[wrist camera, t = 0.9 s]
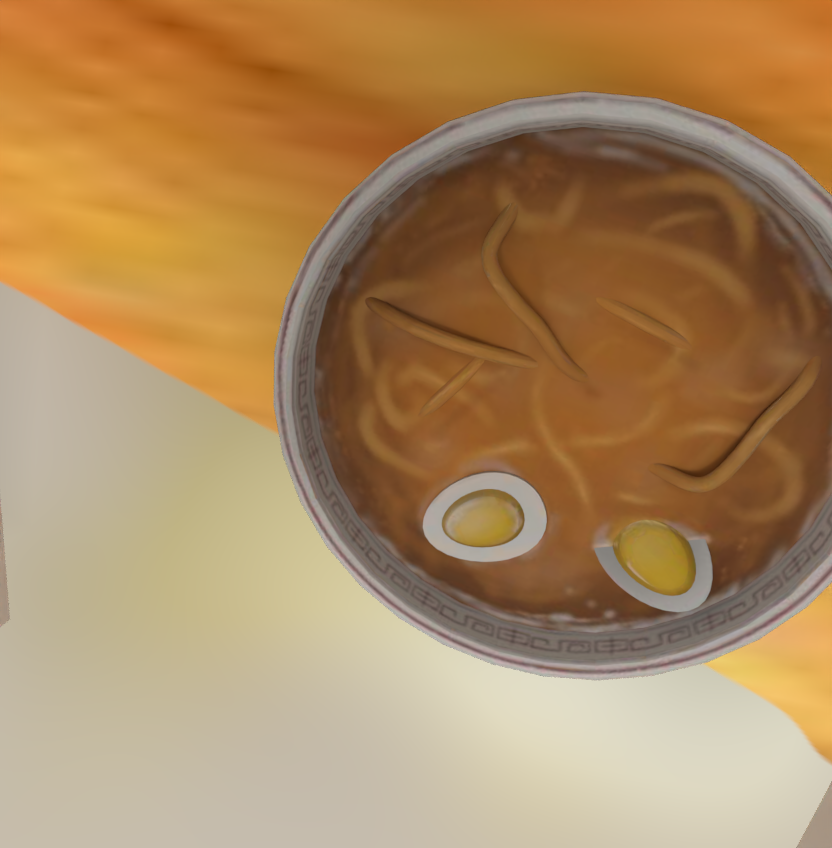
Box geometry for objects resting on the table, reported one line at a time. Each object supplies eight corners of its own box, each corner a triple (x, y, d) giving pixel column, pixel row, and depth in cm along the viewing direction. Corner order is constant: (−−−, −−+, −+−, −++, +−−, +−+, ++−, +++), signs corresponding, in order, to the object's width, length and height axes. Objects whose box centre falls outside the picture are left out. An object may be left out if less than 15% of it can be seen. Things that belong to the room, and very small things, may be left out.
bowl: (612, 633, 42) (610, 774, 33) (274, 391, 42) (180, 467, 33) (961, 305, 32) (1093, 379, 23) (523, -19, 32) (486, -70, 23)
